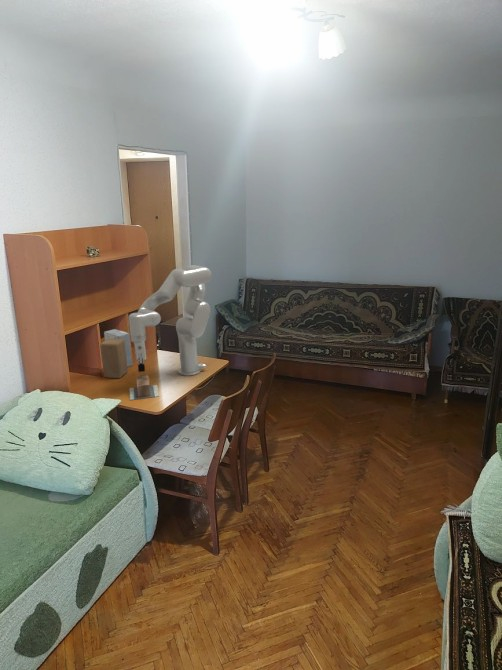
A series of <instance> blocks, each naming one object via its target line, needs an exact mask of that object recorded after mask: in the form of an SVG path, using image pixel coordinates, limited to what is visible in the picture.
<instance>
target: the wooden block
mask: <svg viewBox="0 0 502 670" xmlns="http://www.w3.org/2000/svg"><path fill="white" fill-rule="evenodd" d="M99 346H100V347H99V348H100V353H101V354H100V355H101V361H102V371H103V377H104V378H111V379H121V378H123V376H125V375H126V374H127V373H128V372H129V369H128V367H127V360H126V351H125V342H124V339H107V340H105V339H104V340H103V341H102V342H101V343H100V345H99Z"/></svg>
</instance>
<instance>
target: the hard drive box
mask: <svg viewBox="0 0 502 670" xmlns="http://www.w3.org/2000/svg"><path fill="white" fill-rule="evenodd" d="M103 335H104V336H103V337H104V341H105V340H107V339H124V342H125V351H126V360H127V368H130V367H131V366H133V357H132V356H133V355H132V348H131V336H130V333H128V332H126V331H122V330H119V329H115V328H114V329H110V330H106V331H104V332H103Z"/></svg>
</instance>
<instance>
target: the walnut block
mask: <svg viewBox="0 0 502 670" xmlns="http://www.w3.org/2000/svg"><path fill="white" fill-rule="evenodd" d="M135 378H136V387H137V390H138V398H139V397H147V396H151V394H150V386H151V385H150V378H149V374H141V375H136V377H135Z"/></svg>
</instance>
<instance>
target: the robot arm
mask: <svg viewBox="0 0 502 670" xmlns="http://www.w3.org/2000/svg"><path fill="white" fill-rule="evenodd" d="M211 279H212V271H211V270H210V269H209V268H208V267H206V266H201V265H195V264H194V265H193V264H191V265H188V266H186V268H185V269H181V268H175V269H173V270H171V271H170V273H169V274H168V276H167V277H166V278H165V280H164V281H163V283H162V285H160V287H159V289H158V290H157V291H156V292H154V293H153V294H151V295H150V296H148V297H147V298H146V299H145V300H144V301H143V303H142V304H141V306H140V307H139V308H138V311H137V312H132V313H130V314H129V315H128V323H129V325H128V326H129V332H130V333H129V336H130V342H131V343H133V346H134V347H133V348H134V353H135V359H136V361H137V368H138V373H142V372H143V373H144V372H145V371H146V368H145V361H146V360H147V353H146V351H147V350H146V342H145V341H147V334H146V333H147V332H146V327H154V326H157V325H159V324H160V322H162V321H161V320H162V316H161V315H160V313H159V312H157V311H155V310H156V308H157V307H159V306H161V305H162V304H165V303H169V302H171V301H172V300H173V299H174V298H175V297H176V295H177V294H178V292H179V290H180V289H181V288H182V287H184V288H189V291H188V295H187V298H186V301H185V304H184V309H183V310H184V312H185V314H187V315H188V316H183V317H180V318H178V319H177V321H176V323H175V329H176V330H175V331H176V333H177V337H178V338H177V339H178V349H179V351H178V352H179V360H180V361H179V362H180V363H179V365H180V368H179V369H178V370H177V371H178V372H177V373H178V374H179V375H181V376H187V377H188V376H189V377H190V376H195V375H198V374H199V373H201V371H202V369H204V368H205V369H206V368H207V365H206V363H199V362H198V350H197V340H196V339H199V338H200V337H202V336H203V334H204V333H205V331H206V327H207V324H208V321H209V318H210V314H211V306H210V304H209V303H208V302H207V301H205V300H204V298H205V295H206V285H205V284H207V283H209V282H210V281H211ZM189 316H191V317H189ZM192 317H193V318H192ZM201 368H202V369H201Z"/></svg>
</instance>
